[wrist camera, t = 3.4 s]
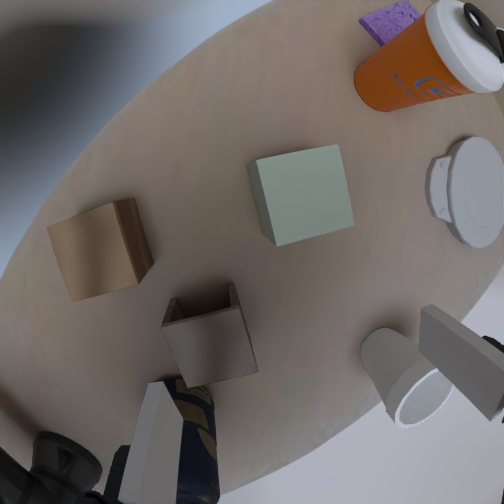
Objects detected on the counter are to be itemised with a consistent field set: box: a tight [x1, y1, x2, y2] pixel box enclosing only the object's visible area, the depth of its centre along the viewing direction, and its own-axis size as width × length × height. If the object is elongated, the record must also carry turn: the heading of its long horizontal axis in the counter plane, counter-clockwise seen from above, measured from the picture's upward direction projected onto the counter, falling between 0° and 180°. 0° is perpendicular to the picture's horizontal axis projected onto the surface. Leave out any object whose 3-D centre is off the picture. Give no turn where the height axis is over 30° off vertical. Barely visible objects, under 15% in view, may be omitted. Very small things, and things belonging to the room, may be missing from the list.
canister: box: [163, 379, 220, 504], centre depth 26 cm, size 10×10×18 cm
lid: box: [425, 136, 504, 249], centre depth 33 cm, size 17×20×3 cm
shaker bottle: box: [354, 0, 504, 112], centre depth 19 cm, size 9×9×20 cm
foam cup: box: [360, 328, 455, 428], centre depth 31 cm, size 10×9×13 cm
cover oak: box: [161, 283, 258, 388], centre depth 29 cm, size 8×8×7 cm
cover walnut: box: [47, 198, 154, 302], centre depth 26 cm, size 8×8×7 cm
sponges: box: [360, 0, 421, 47], centre depth 27 cm, size 7×13×2 cm, turn 131°
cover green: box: [247, 144, 355, 247], centre depth 27 cm, size 8×8×7 cm
